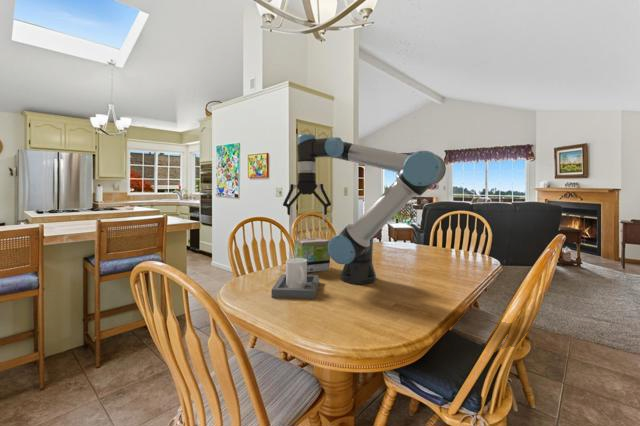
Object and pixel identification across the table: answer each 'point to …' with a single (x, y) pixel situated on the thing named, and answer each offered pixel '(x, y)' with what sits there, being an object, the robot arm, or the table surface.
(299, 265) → the mug
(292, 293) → the gray tray
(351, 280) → the robot arm
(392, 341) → the table surface
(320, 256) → the tea box
